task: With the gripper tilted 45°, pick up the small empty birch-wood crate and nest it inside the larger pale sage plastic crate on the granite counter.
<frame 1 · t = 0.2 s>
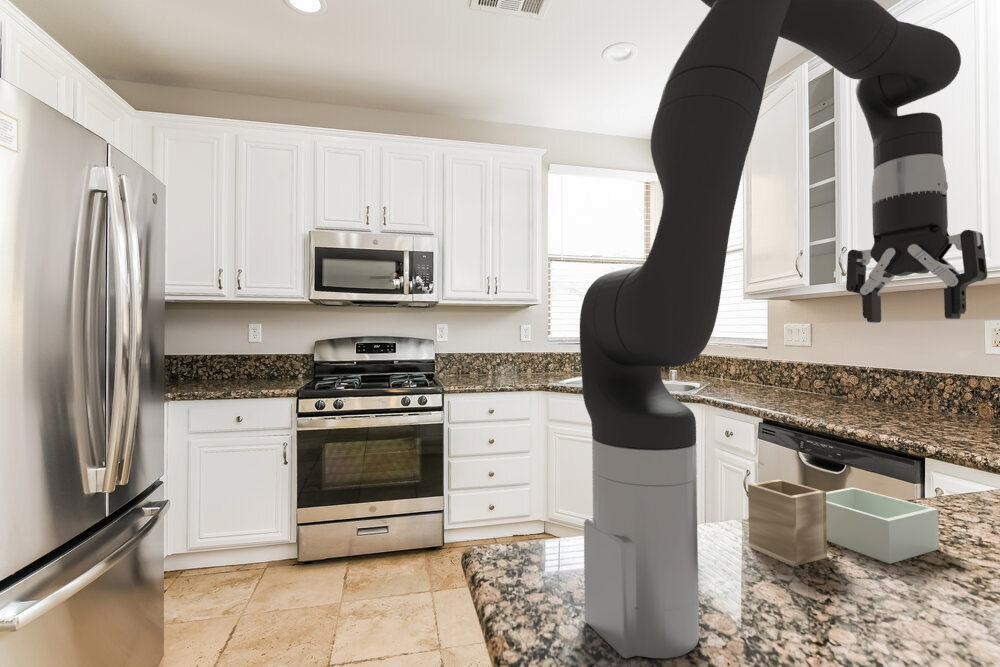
hand: (911, 320, 63), 29 cm above the countertop, tool pointing down, fingers open, 8 cm apart
birch crate: (787, 552, 60), on the countertop
sage crate: (869, 540, 64), on the countertop
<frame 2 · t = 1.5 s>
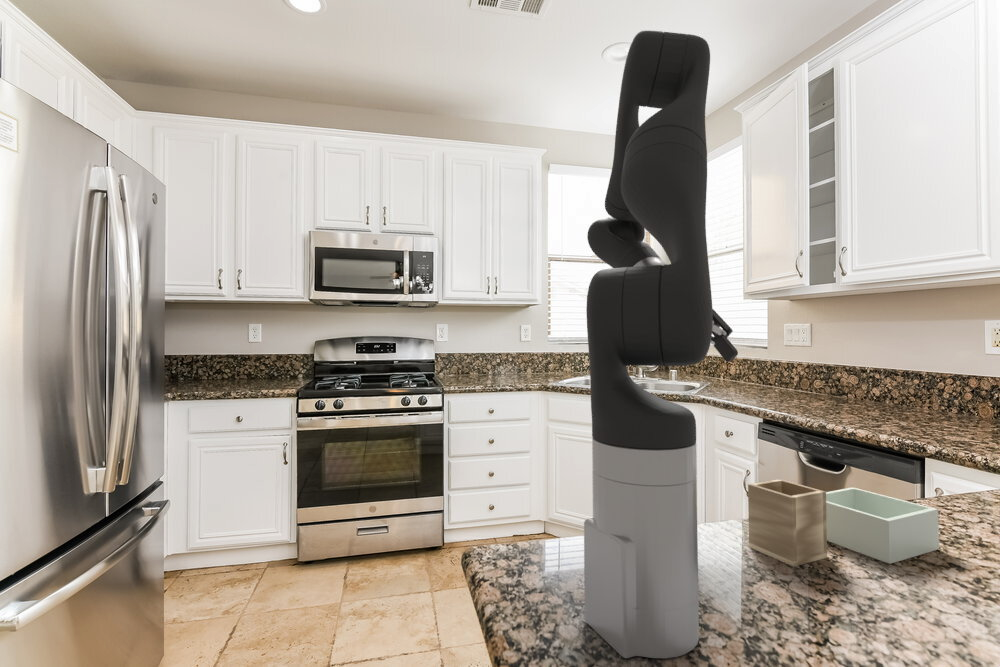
hand: (711, 358, 72), 24 cm above the countertop, tool tilted 45°, fingers open, 8 cm apart
nothing on the countertop moved.
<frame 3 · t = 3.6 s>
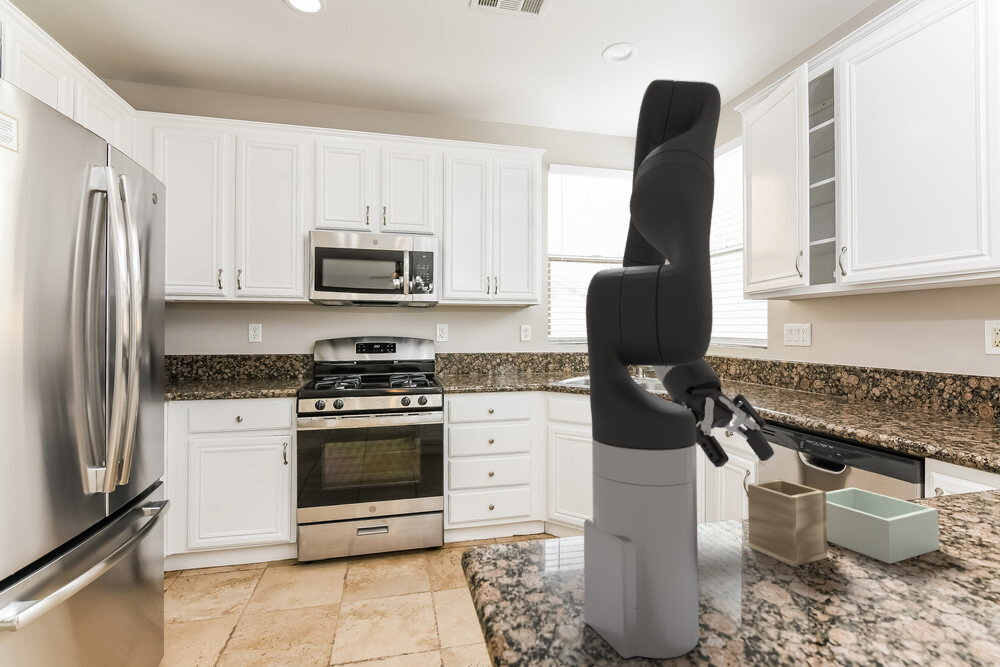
hand: (746, 460, 66), 10 cm above the countertop, tool tilted 45°, fingers open, 8 cm apart
nothing on the countertop moved.
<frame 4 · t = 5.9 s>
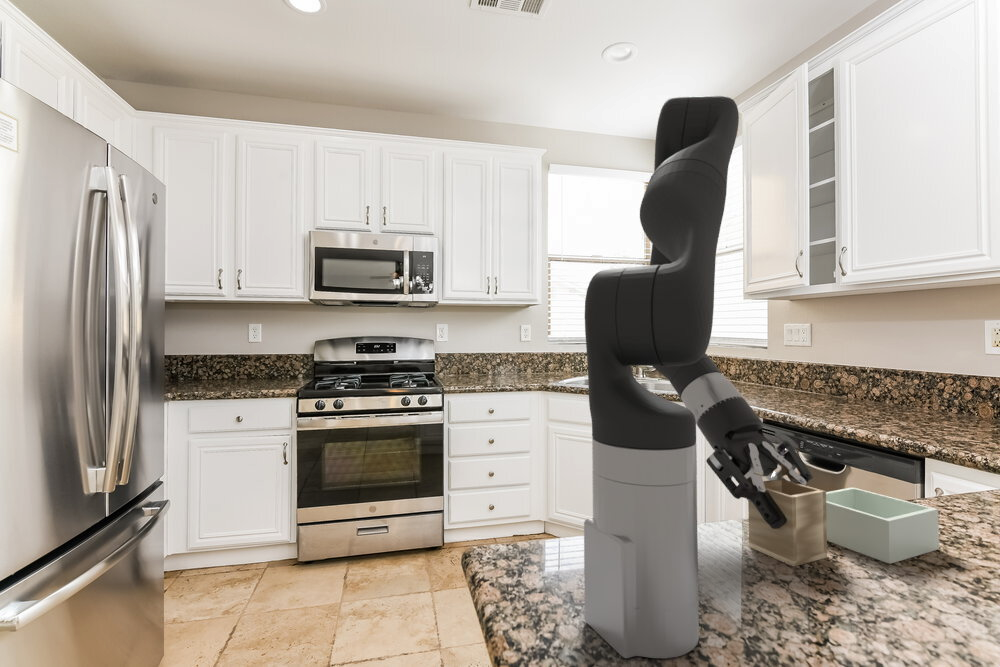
hand: (799, 521, 59), 4 cm above the countertop, tool tilted 45°, fingers closed on birch crate, 6 cm apart
birch crate: (787, 551, 60), on the countertop, touching gripper
everything else where it was.
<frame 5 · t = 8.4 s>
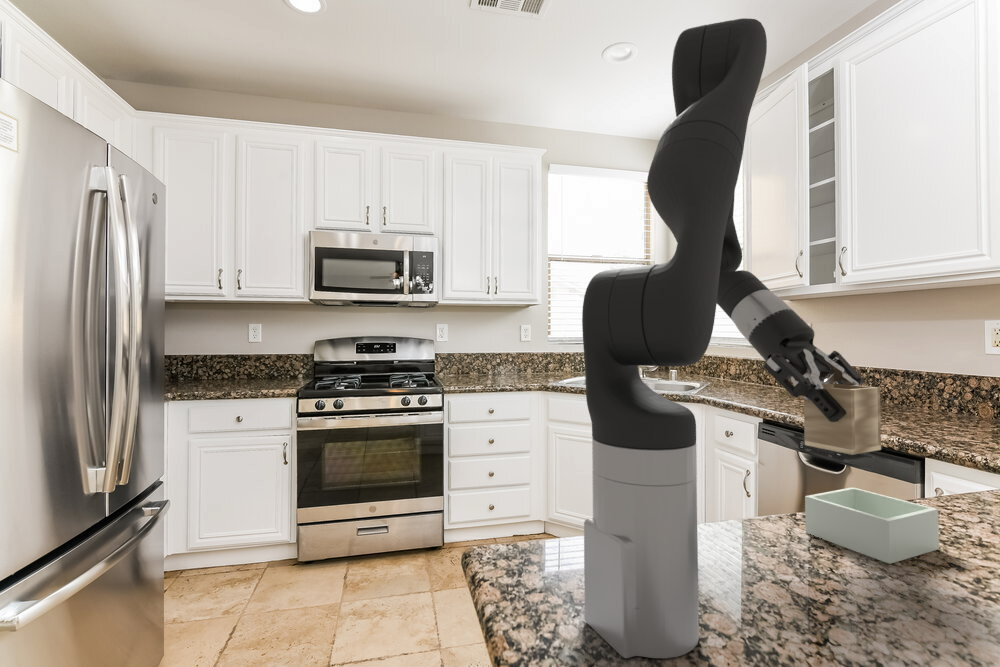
hand: (855, 415, 62), 17 cm above the countertop, tool tilted 45°, fingers closed on birch crate, 6 cm apart
birch crate: (841, 447, 64), point 12 cm above the countertop, touching gripper
everything else where it was.
when the fingers open (6 cm above the countertop, at t = 11.1 s): birch crate drops 1 cm, resting on sage crate.
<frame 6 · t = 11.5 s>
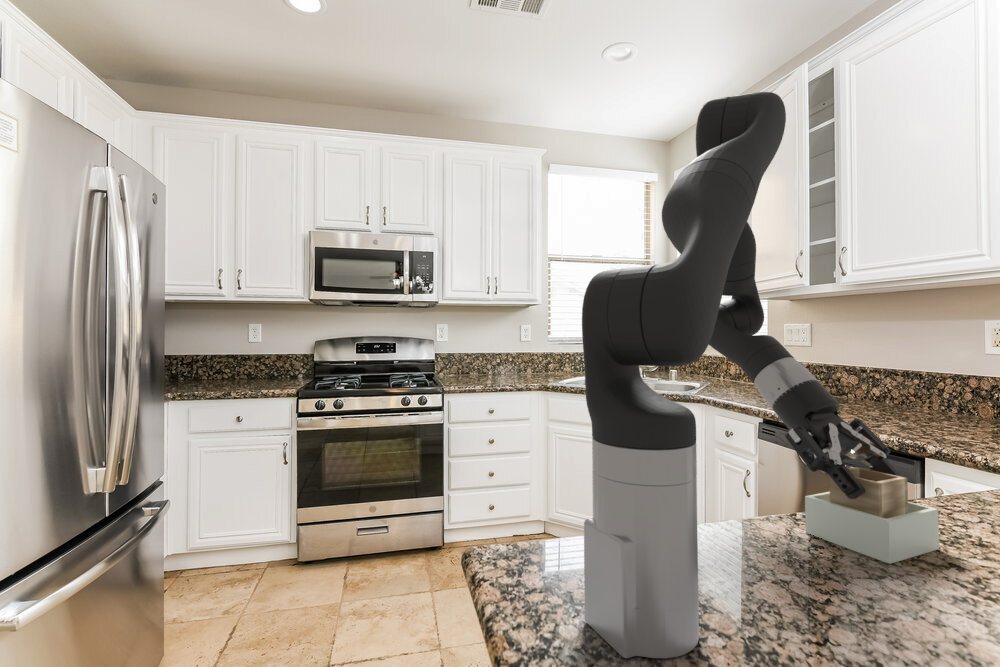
hand: (879, 491, 63), 7 cm above the countertop, tool tilted 45°, fingers open, 8 cm apart
birch crate: (868, 535, 64), point 1 cm above the countertop, touching sage crate
everything else where it was.
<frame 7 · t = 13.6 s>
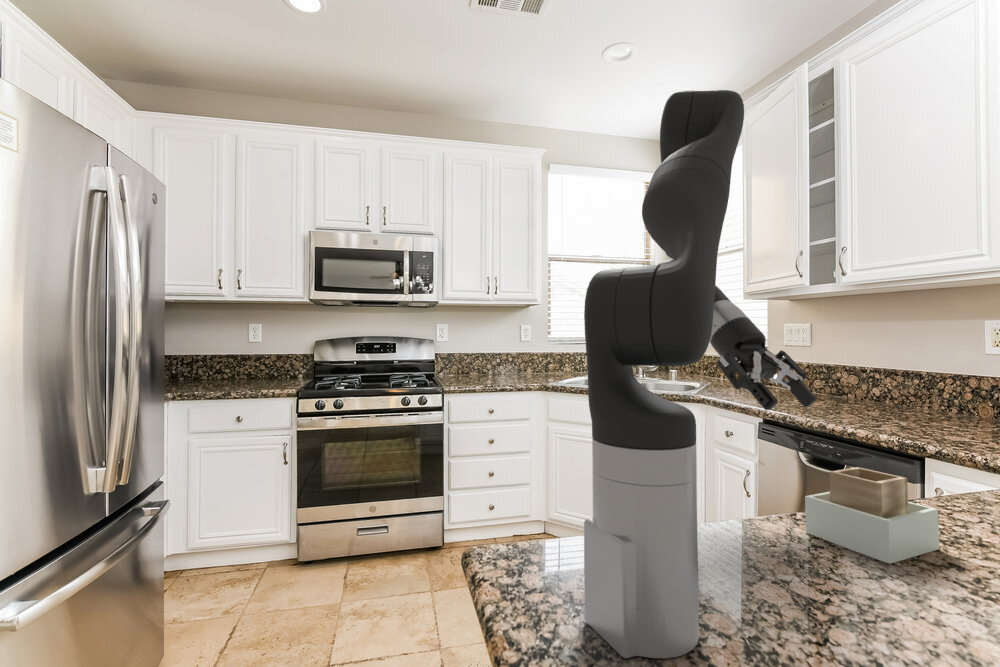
hand: (792, 405, 74), 17 cm above the countertop, tool tilted 45°, fingers open, 8 cm apart
nothing on the countertop moved.
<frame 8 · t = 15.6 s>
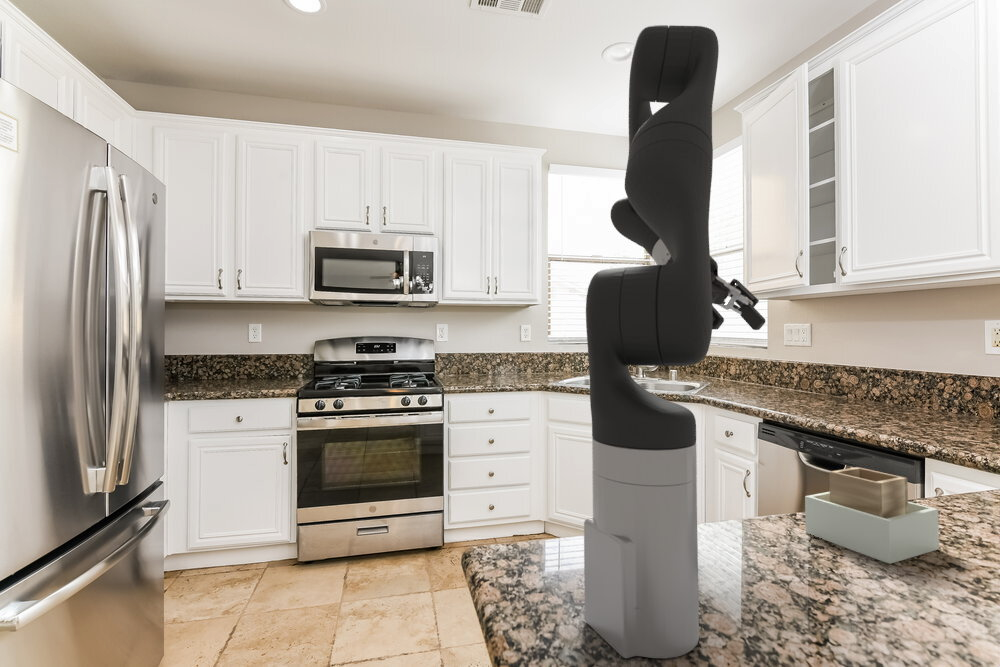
hand: (740, 325, 73), 29 cm above the countertop, tool tilted 45°, fingers open, 8 cm apart
nothing on the countertop moved.
at the end: birch crate 0.1 cm off-centre on the sage crate, point 0.6 cm above the sage crate's base; birch crate tilted 0°; the gripper is holding nothing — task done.
